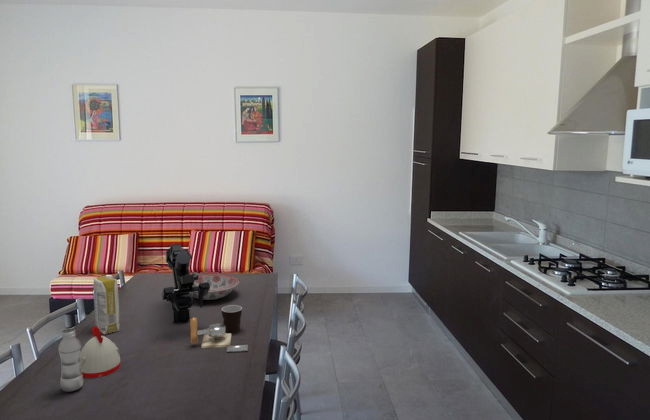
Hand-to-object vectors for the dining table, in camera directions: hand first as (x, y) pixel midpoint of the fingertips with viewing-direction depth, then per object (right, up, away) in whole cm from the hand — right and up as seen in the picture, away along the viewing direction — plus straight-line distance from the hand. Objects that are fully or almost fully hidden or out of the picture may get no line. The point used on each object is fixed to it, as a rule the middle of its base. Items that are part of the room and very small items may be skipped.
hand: (190, 309), depth 190 cm
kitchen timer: (-25, -16, -24) cm, 38 cm away
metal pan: (+8, -12, -3) cm, 14 cm away
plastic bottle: (-27, -18, -38) cm, 50 cm away
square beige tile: (+11, -13, -1) cm, 17 cm away
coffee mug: (+15, -11, +11) cm, 22 cm away
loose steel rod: (+21, -14, -9) cm, 27 cm away
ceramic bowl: (-4, -5, +52) cm, 53 cm away
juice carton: (-37, -11, +8) cm, 40 cm away
